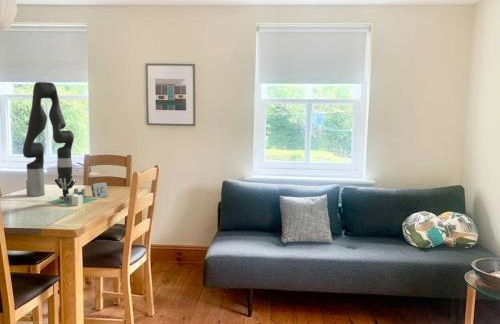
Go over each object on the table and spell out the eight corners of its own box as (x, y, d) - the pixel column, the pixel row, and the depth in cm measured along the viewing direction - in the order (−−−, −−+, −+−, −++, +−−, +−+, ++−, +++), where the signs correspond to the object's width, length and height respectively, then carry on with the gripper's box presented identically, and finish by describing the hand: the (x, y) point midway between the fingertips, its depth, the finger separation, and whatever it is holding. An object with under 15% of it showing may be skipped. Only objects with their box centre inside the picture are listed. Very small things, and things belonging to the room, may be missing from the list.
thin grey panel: (78, 193, 242) (78, 191, 242) (82, 193, 241) (82, 191, 241) (59, 198, 226) (59, 196, 226) (64, 199, 226) (64, 197, 225)
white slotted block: (60, 201, 231) (59, 196, 231) (70, 198, 240) (70, 193, 240) (73, 203, 229) (73, 197, 229) (83, 199, 238) (83, 194, 237)
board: (44, 204, 229) (44, 192, 228) (67, 198, 247) (67, 187, 246) (78, 207, 223) (77, 195, 222) (99, 200, 242) (98, 189, 241)
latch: (65, 204, 225) (65, 194, 224) (70, 203, 229) (70, 193, 228) (78, 205, 223) (77, 195, 222) (82, 204, 227) (82, 194, 226)
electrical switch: (95, 199, 247) (94, 184, 246) (90, 198, 250) (89, 183, 249) (108, 196, 254) (107, 182, 253) (104, 196, 257) (103, 182, 257)
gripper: (50, 166, 225) (51, 196, 227) (70, 167, 222) (71, 197, 224) (59, 164, 232) (60, 193, 234) (79, 165, 229) (80, 195, 231)
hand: (65, 195), depth 229 cm, fingers closed
